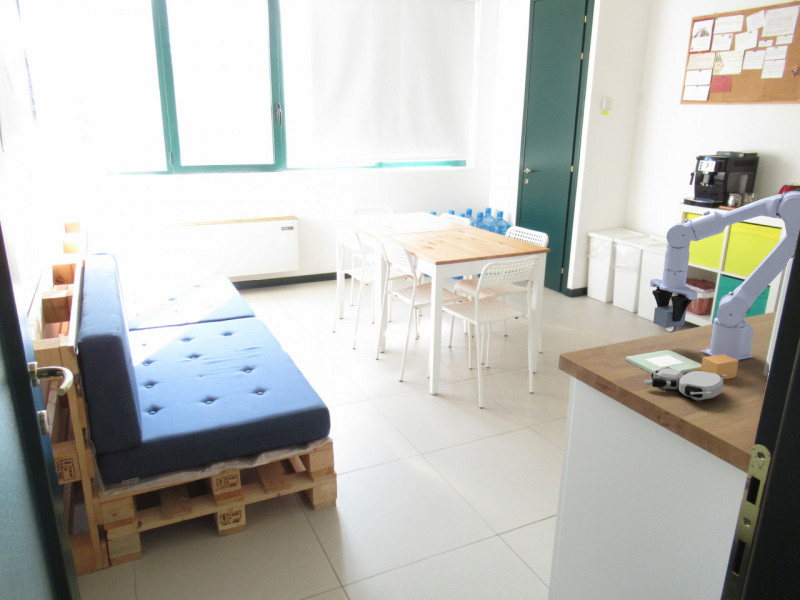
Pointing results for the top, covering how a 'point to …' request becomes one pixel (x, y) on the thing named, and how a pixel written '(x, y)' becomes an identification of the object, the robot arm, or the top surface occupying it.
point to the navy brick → (666, 317)
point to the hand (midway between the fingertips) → (669, 318)
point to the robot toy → (688, 382)
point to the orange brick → (720, 365)
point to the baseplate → (663, 361)
